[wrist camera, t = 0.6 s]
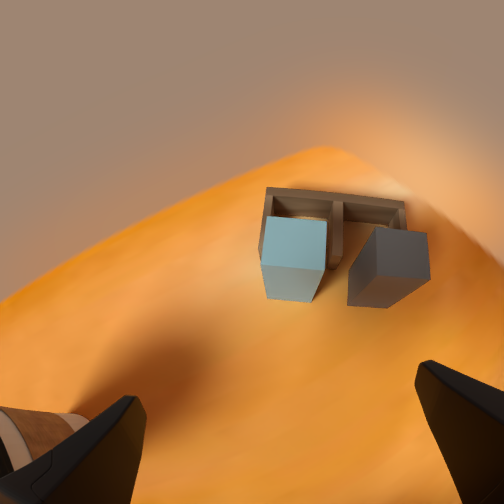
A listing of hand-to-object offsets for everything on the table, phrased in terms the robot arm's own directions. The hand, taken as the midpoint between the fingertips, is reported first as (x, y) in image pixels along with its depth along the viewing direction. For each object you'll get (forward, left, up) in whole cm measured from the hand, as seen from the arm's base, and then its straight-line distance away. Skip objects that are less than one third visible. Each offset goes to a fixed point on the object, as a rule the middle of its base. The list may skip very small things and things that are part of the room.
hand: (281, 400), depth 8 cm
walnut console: (+4, -12, -14) cm, 19 cm away
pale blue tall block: (+4, -6, -14) cm, 16 cm away
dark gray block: (-1, -10, -14) cm, 17 cm away
